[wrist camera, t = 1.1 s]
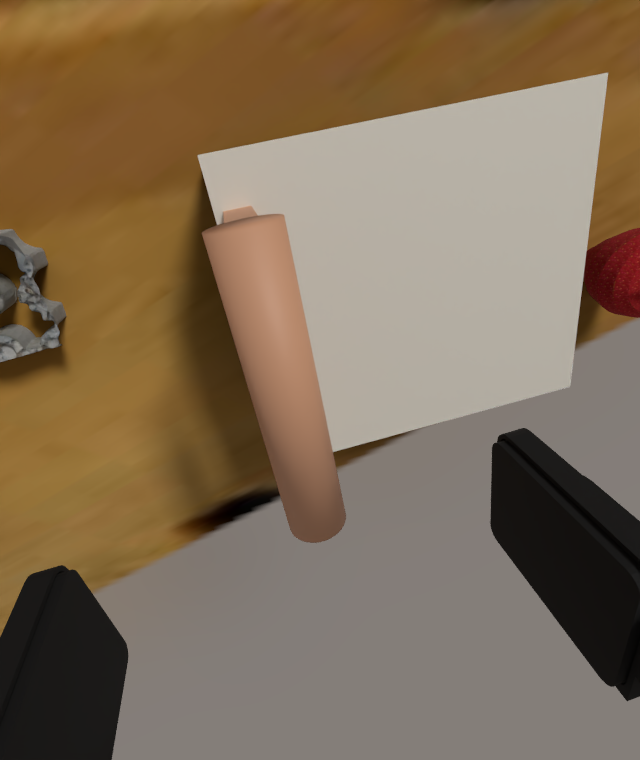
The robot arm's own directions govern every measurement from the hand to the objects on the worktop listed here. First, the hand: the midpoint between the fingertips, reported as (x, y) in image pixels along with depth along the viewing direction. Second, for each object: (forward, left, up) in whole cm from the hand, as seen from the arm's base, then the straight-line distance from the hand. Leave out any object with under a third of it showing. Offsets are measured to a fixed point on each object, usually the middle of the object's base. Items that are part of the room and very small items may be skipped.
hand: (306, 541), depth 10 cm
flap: (-8, 0, -14) cm, 16 cm away
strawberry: (-26, +4, -23) cm, 35 cm away
